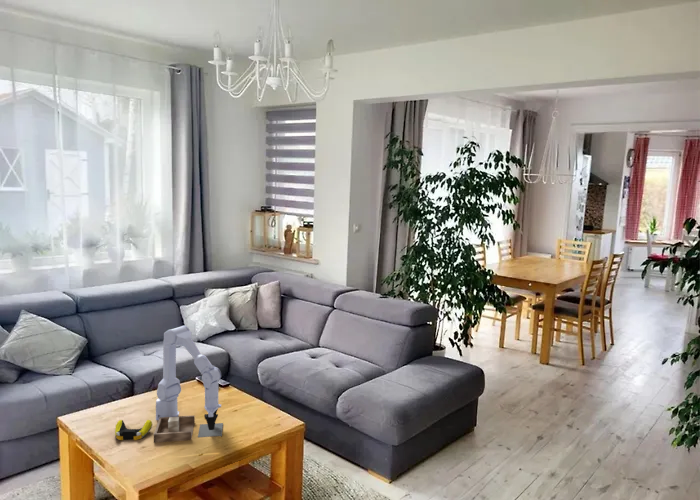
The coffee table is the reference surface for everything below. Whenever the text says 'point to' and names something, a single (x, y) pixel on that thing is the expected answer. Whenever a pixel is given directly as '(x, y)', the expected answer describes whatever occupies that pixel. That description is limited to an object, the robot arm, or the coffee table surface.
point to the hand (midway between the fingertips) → (211, 425)
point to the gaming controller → (131, 431)
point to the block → (173, 424)
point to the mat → (208, 433)
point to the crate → (184, 432)
